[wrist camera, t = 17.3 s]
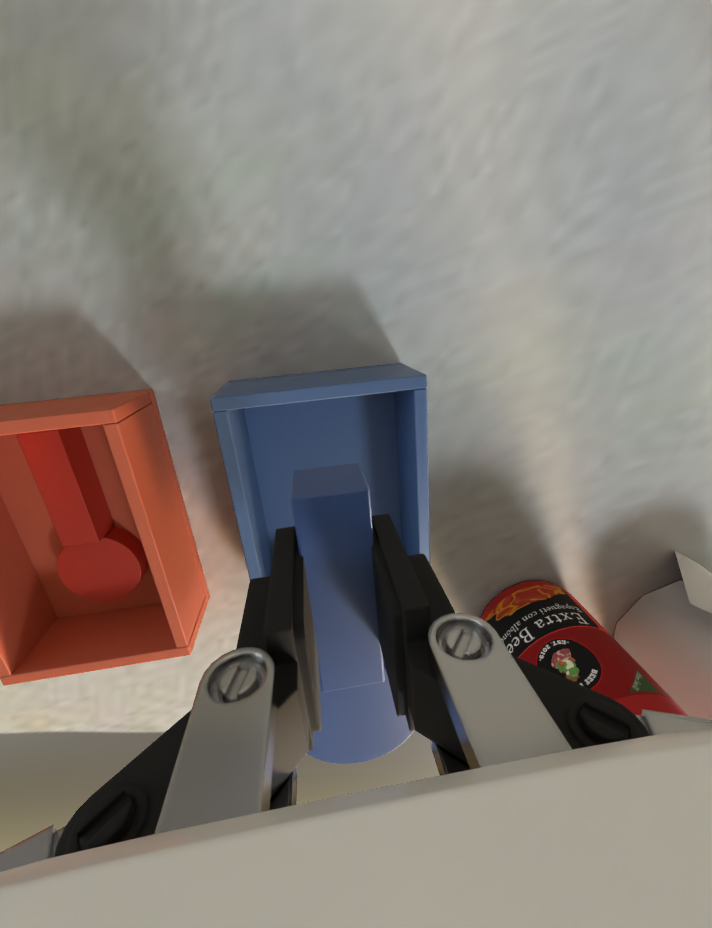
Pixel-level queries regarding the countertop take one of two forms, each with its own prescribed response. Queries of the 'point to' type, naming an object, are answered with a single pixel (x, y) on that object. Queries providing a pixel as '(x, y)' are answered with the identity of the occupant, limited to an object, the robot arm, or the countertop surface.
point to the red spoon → (82, 518)
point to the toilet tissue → (675, 637)
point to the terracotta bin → (132, 508)
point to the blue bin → (325, 447)
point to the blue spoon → (345, 615)
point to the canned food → (572, 645)
